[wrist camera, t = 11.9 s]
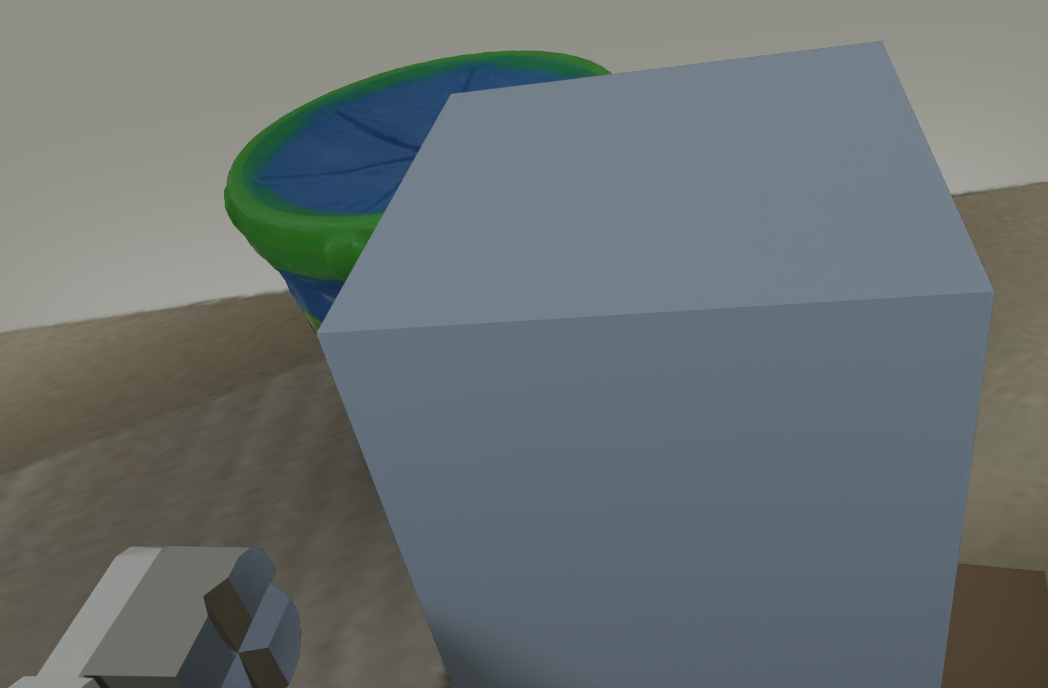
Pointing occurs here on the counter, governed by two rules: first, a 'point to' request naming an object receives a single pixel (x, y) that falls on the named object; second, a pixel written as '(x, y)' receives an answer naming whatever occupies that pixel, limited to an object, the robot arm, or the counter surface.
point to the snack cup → (356, 163)
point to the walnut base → (997, 629)
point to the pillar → (674, 378)
